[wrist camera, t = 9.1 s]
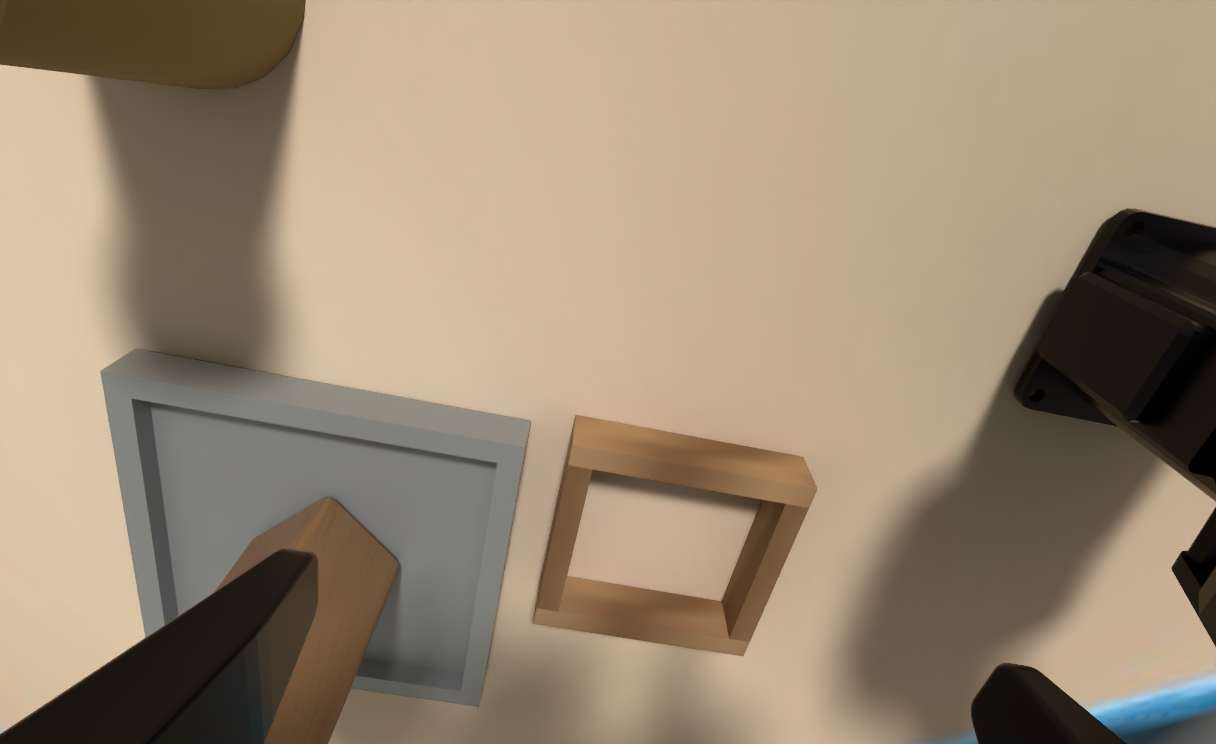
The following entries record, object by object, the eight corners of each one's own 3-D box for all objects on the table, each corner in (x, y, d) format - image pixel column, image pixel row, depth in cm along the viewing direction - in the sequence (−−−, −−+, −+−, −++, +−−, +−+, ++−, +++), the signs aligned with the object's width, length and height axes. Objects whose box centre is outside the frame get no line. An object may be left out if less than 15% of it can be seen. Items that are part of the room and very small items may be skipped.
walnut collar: (803, 457, 23) (817, 488, 21) (735, 618, 26) (743, 656, 25) (575, 415, 22) (572, 444, 20) (538, 587, 26) (533, 623, 24)
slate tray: (530, 421, 22) (525, 447, 21) (485, 672, 28) (478, 706, 27) (135, 348, 21) (100, 371, 20) (173, 626, 27) (149, 659, 25)
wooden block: (250, 535, 24) (93, 749, 16) (331, 487, 23) (200, 695, 15) (328, 603, 25) (214, 826, 18) (407, 561, 24) (319, 781, 17)
